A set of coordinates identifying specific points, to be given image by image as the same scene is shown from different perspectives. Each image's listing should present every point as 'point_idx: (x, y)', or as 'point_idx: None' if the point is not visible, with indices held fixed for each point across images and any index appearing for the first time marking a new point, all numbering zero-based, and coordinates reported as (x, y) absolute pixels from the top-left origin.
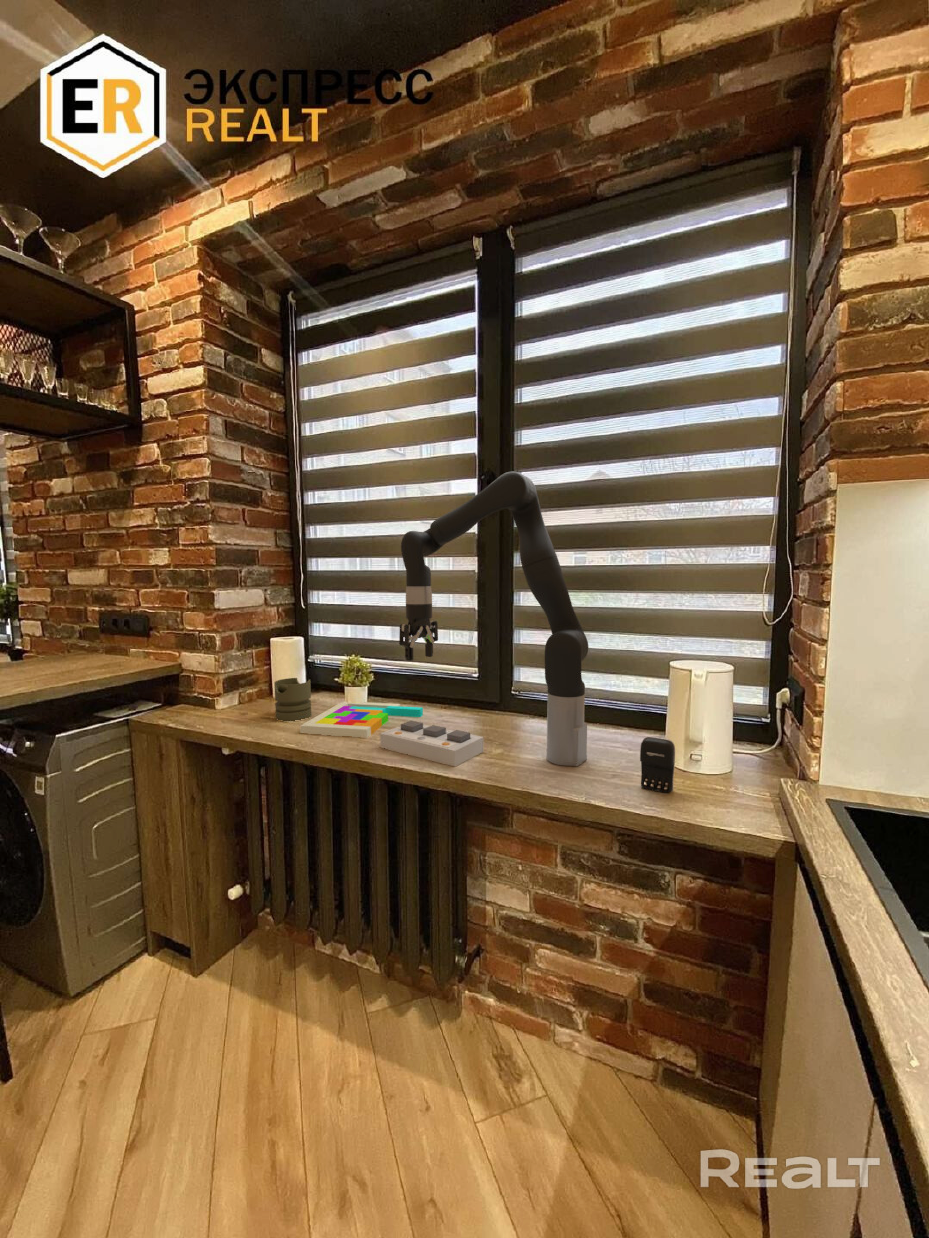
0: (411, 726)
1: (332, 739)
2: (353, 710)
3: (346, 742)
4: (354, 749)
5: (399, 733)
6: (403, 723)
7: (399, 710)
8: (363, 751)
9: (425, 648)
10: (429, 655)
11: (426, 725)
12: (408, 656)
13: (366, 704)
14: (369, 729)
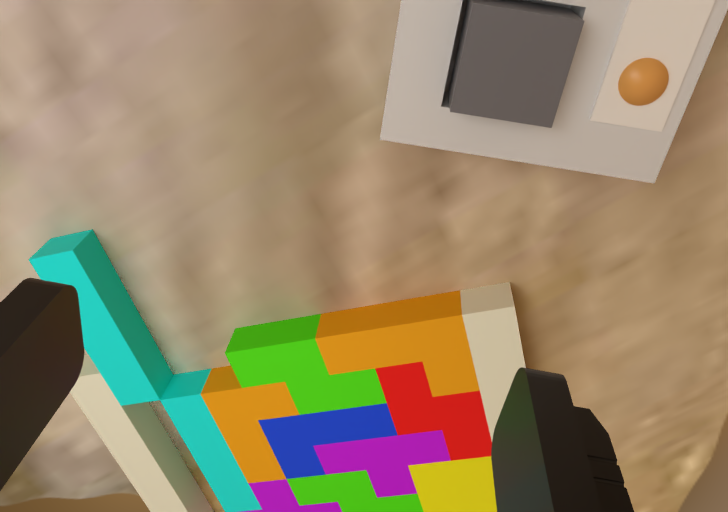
0: (579, 34)
1: (578, 387)
2: (275, 483)
3: (599, 323)
4: (685, 245)
5: (656, 67)
6: (531, 120)
7: (132, 339)
8: (705, 194)
9: (15, 465)
10: (67, 316)
11: (405, 8)
12: (610, 451)
13: (167, 484)
14: (478, 306)
